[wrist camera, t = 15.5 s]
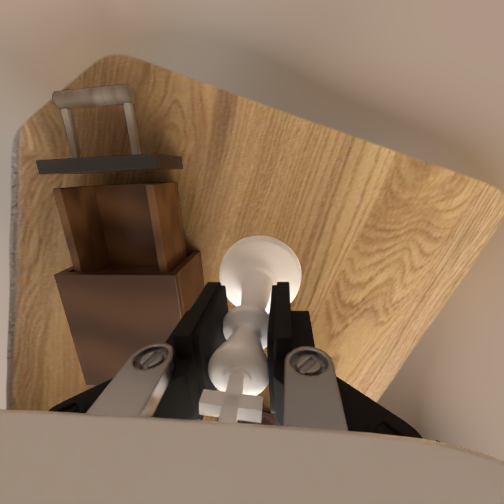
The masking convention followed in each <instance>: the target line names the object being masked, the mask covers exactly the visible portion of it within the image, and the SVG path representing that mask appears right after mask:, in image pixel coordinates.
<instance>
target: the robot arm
mask: <svg viewBox="0 0 504 504" xmlns="http://www.w3.org/2000/svg"><path fill="white" fill-rule="evenodd" d="M227 313H228V306H227V296H226V287H225V285H221V283H220V282H208V283H207V284H206V286H205V287H204V289H203V290H202V292H201V293H200V295H199V297H198V298H197V300H196V301H195V303H194V304H193V306H192V307H191V309H190V310H187V311H186V312H185V314H184V315H183V317H182V318H181V320H180V321H179V323H178V324H177V326H176V327H175V329H174V330H173V332H172V333H171V334H170V336H169V337H168V339H167V340H166V342H165V343H153V344H149V345H146V346H144V347H142V348H140V349H138V350H137V351H135V352H134V353H133V354H132V355H131V356H130V358H129V359H128V360H127V361H126V363H125V364H124V365H123V366H122V368H121V369H120V370H119V372H118V373H117V374H116V375H115V377H114V378H112V379H110V380H108V381H106V382H104V383H102V384H99V385H97V386H95V387H93V388H91V389H89V390H87V391H85V392H82V393H80V394H78V395H76V396H74V397H72V398H70V399H68V400H65V401H63V402H61V403H60V404H58V405H56V406H54V407H53V408H51V409H50V410H49V411H35V410H0V504H504V461H502V460H499V459H496V458H493V457H491V456H488V455H486V454H483V453H480V452H477V451H473V450H470V449H466V448H462V447H458V446H455V445H451V444H447V443H442V442H439V441H437V440H436V441H431V440H427V439H423V438H422V437H421V435H420V434H419V433H418V432H417V431H416V430H415V429H414V428H413V427H411V426H410V425H409V424H407V423H406V422H405V421H403V420H402V419H400V418H399V417H397V416H396V415H394V414H393V413H391V412H390V411H388V410H386V409H385V408H383V407H382V406H381V405H379V404H378V403H376V402H374V401H373V400H371V399H370V398H368V397H367V396H365V395H364V394H362V393H361V392H359V391H358V390H356V389H355V388H353V387H352V386H350V385H349V384H347V383H346V382H344V381H343V380H341V379H340V378H338V377H336V374H335V369H334V365H333V362H332V359H331V357H330V356H329V355H328V354H327V353H326V352H324V351H322V350H321V349H318V348H315V345H314V339H313V333H312V327H311V321H310V315H309V311H291V308H290V285H289V282H277V285H272V292H271V302H270V312H269V322H268V331H267V353H268V372H269V391H270V410H271V413H275V415H276V422H277V424H279V425H280V426H274V425H260V424H246V423H232V422H217V421H202V419H203V416H204V415H199V400H200V398H201V395H202V392H203V389H207V390H215V391H216V389H217V388H216V387H215V386H214V385H213V383H212V382H211V380H210V377H209V374H208V364H209V360H210V358H211V356H212V355H213V353H214V352H215V351H216V350H217V349H218V348H219V347H220V346H221V345H222V344H223V343H225V342H226V341H227V340H226V339H225V337H224V333H223V320H224V317H225V315H226V314H227ZM189 419H201V420H189Z"/></svg>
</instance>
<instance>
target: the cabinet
mask: <svg viewBox="0 0 504 504" xmlns="http://www.w3.org/2000/svg"><path fill="white" fill-rule="evenodd" d="M186 255H187V258H186V259H185V260H184V261H183V262H182V263H180V264H179V265H178V266H177V267H176V268H175V269H174V270H173V271H171V272H75V270H74V267H73V266H72V267H70V268H68V269H66V270H63V271H61V272H59V273H57V274H55V275H54V276H55V280H56V283H57V287H58V290H59V293H60V297H61V300H62V304H63V307H64V310H65V314H66V317H67V321H68V324H69V327H70V331H71V334H72V337H73V341H74V344H75V348H76V351H77V354H78V358H79V361H80V365H81V368H82V371H83V375H84V378H85V382H86V384H87V385H99V384H102V383H104V382H106V381H108V380H110V379H112V378H114V377H115V375H116V374H117V373H118V372H119V370H120V369H121V368H122V366H123V365H124V364H125V363H126V361H127V360H128V359H129V358H130V356H131V355H132V354H133V353H134V352H135V351H137V350H138V349H140V348H142V347H144V346H146V345H149V344H153V343H165V342H166V340H167V339H168V337H169V336H170V334H171V333H172V332H173V330H174V329H175V327H176V326H177V324H178V323H179V321H180V320H181V318H182V317H183V315H184V314H185V312H186V311H187V310H190V309H191V307H192V306H193V304H194V303H195V301H196V300H197V298H198V297H199V295H200V293H201V292H202V290H203V289H204V280H203V271H202V262H201V253H200V251H186Z"/></svg>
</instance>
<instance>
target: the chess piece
mask: <svg viewBox="0 0 504 504" xmlns="http://www.w3.org/2000/svg"><path fill="white" fill-rule="evenodd" d="M219 277H220V283H221V285H225V287H226V296H227V298H228V299H229V300H230V302H231V303H233V304H234V305H235V306H236V307H234V308H232V309H231V310H230V311H229V312H228V313H227V314H226V315H225V317H224V320H223V333H224V337H225V339H226V340H227V341H226V342H225V343H223V344H222V345H221V346H220V347H219V348H218V349H217V350H216V351H215V352H214V353H213V355H212V356H211V358H210V360H209V364H208V374H209V377H210V380H211V382H212V383H213V385H214V386H215V387H216V388H217V389H218V390H219V391H215V390H207V389H203V392H202V395H201V398H200V400H199V415H206V416H213V417H219V418H218V422H232V423H237V422H238V420H243V421H250V422H258V423H261V420H262V409H263V396H256V395H258V394H260V393H261V392H262V391H263V390H264V389H265V388H266V387H267V385H268V383H269V372H268V359H267V357H266V354H265V353H264V350H263V349H264V348H266V347H267V331H268V322H269V312H270V302H271V292H272V285H277V282H289V285H290V303H291V302H292V301H293V300H294V298H295V297H296V295H297V293H298V291H299V288H300V283H301V277H302V272H301V266H300V263H299V260H298V258H297V256H296V254H295V253H294V252H293V250H292V249H291V248H290V247H289V246H288V245H286V244H285V243H283V242H282V241H280V240H278V239H276V238H273V237H269V236H263V235H256V236H249V237H246V238H243V239H241V240H239V241H237V242H236V243H234V244H233V245H232V246H231V247H230V248H229V249H228V250H227V252H226V253H225V255H224V257H223V259H222V263H221V267H220V274H219Z"/></svg>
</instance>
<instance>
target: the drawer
mask: <svg viewBox="0 0 504 504" xmlns="http://www.w3.org/2000/svg"><path fill="white" fill-rule="evenodd" d="M52 99H53V101H54V103H55V105H56V106H57V107H58V108H60V109H61V113H62V117H63V121H64V125H65V129H66V134H67V138H68V142H69V146H70V150H71V155H72V158H68V159H52V160H36V163H37V167H38V170H39V174H89V173H108V172H127V171H147V170H166V169H183V165H182V157H180V156H172V155H165V154H157V153H150V154H141V151H140V145H139V139H138V133H137V126H136V120H135V114H134V108H133V104H132V103H135V102H136V94H135V91H134V89H133V87H132V86H131V85H130V84H123V85H113V86H103V87H93V88H83V89H73V90H63V91H54V92H53V94H52ZM118 104H123V106H124V111H125V117H126V123H127V129H128V135H129V140H130V146H131V152H132V155H117V156H101V157H85V158H82V155H81V151H80V146H79V142H78V138H77V133H76V129H75V124H74V120H73V116H72V111H71V109H73V108H84V107H95V106H107V105H118ZM53 192H54V196H55V200H56V203H57V207H58V211H59V214H60V218H61V222H62V226H63V229H64V233H65V237H66V241H67V244H68V248H69V252H70V255H71V259H72V263H73V267H74V270H75V272H171V271H173V270H174V269H175V268H176V267H177V266H178V265H179V264H180V263H182V262H183V261H184V260H185V259H186V258H187V255H186V247H185V239H184V232H183V224H182V216H181V208H180V200H179V193H178V185H177V182H158V183H136V184H114V185H92V186H80V187H67V188H54V189H53Z"/></svg>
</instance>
